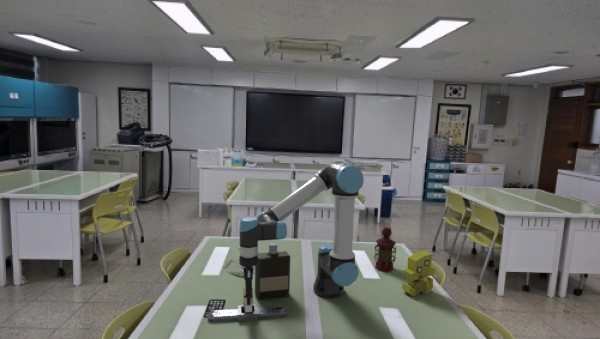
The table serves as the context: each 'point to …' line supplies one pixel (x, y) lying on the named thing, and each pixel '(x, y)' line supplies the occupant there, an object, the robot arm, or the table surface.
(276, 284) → the bottle
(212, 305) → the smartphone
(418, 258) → the toy
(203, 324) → the table surface
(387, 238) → the lantern
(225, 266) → the stone slab
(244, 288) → the pin
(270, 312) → the grey metal bar device
